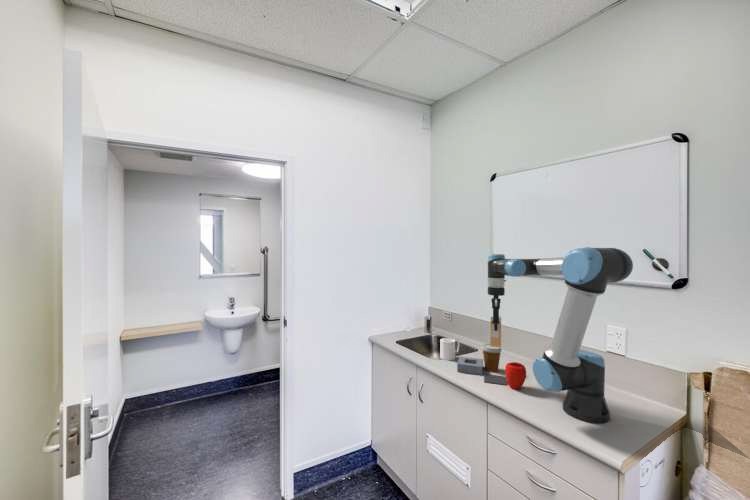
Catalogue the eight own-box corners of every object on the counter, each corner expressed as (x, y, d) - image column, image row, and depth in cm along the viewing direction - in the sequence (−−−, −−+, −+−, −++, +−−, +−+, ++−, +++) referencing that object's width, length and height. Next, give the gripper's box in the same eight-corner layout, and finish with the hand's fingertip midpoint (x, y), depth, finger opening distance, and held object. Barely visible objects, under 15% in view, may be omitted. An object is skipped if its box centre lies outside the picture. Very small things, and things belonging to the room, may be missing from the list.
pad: (507, 385, 148) (507, 384, 148) (483, 382, 151) (483, 381, 151) (506, 377, 157) (506, 376, 157) (484, 374, 160) (484, 373, 160)
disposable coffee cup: (481, 371, 164) (482, 347, 164) (481, 365, 173) (481, 342, 173) (502, 374, 161) (502, 349, 161) (500, 367, 170) (500, 344, 170)
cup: (463, 358, 184) (463, 340, 184) (445, 360, 180) (445, 342, 180) (455, 354, 192) (455, 337, 192) (437, 356, 188) (437, 338, 187)
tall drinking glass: (500, 347, 151) (501, 317, 151) (490, 346, 153) (490, 316, 153) (500, 344, 155) (500, 315, 155) (490, 343, 157) (490, 314, 157)
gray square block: (482, 375, 160) (482, 366, 160) (457, 371, 164) (457, 363, 164) (483, 366, 171) (483, 359, 171) (459, 363, 175) (459, 356, 175)
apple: (524, 393, 140) (524, 368, 140) (503, 388, 144) (503, 364, 144) (527, 386, 147) (527, 362, 147) (507, 381, 152) (507, 358, 152)
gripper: (505, 289, 144) (504, 341, 144) (504, 285, 161) (503, 332, 161) (487, 288, 147) (486, 339, 147) (488, 284, 163) (487, 330, 164)
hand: (495, 335), depth 154 cm, fingers closed on tall drinking glass, 5 cm apart
